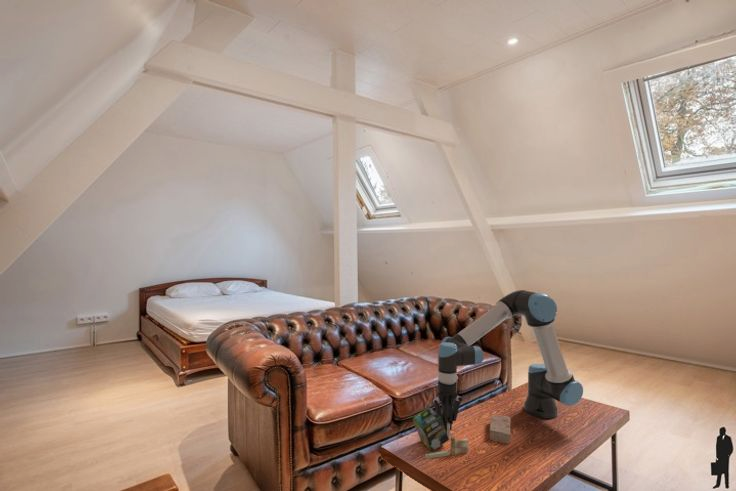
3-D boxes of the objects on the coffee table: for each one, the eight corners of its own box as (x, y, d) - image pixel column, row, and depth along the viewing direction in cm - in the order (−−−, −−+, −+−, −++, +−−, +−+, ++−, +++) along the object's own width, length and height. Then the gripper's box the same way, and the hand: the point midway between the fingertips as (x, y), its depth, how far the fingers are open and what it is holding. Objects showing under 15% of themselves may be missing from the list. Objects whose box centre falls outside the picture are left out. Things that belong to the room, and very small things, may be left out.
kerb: (448, 453, 146) (448, 450, 146) (449, 455, 145) (449, 452, 145) (425, 457, 143) (425, 454, 143) (426, 458, 142) (426, 455, 142)
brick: (510, 444, 153) (510, 433, 153) (489, 440, 156) (489, 429, 156) (510, 426, 169) (510, 416, 169) (491, 423, 172) (491, 413, 172)
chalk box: (437, 429, 158) (426, 399, 156) (450, 440, 150) (438, 408, 147) (420, 441, 155) (408, 410, 153) (431, 452, 146) (419, 420, 144)
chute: (447, 430, 163) (447, 416, 163) (468, 452, 146) (468, 436, 146) (433, 432, 161) (433, 418, 161) (452, 455, 145) (452, 438, 145)
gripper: (456, 376, 158) (456, 431, 158) (429, 379, 154) (429, 435, 154) (465, 382, 151) (465, 440, 151) (437, 385, 147) (437, 445, 147)
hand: (447, 438), depth 152 cm, fingers closed
